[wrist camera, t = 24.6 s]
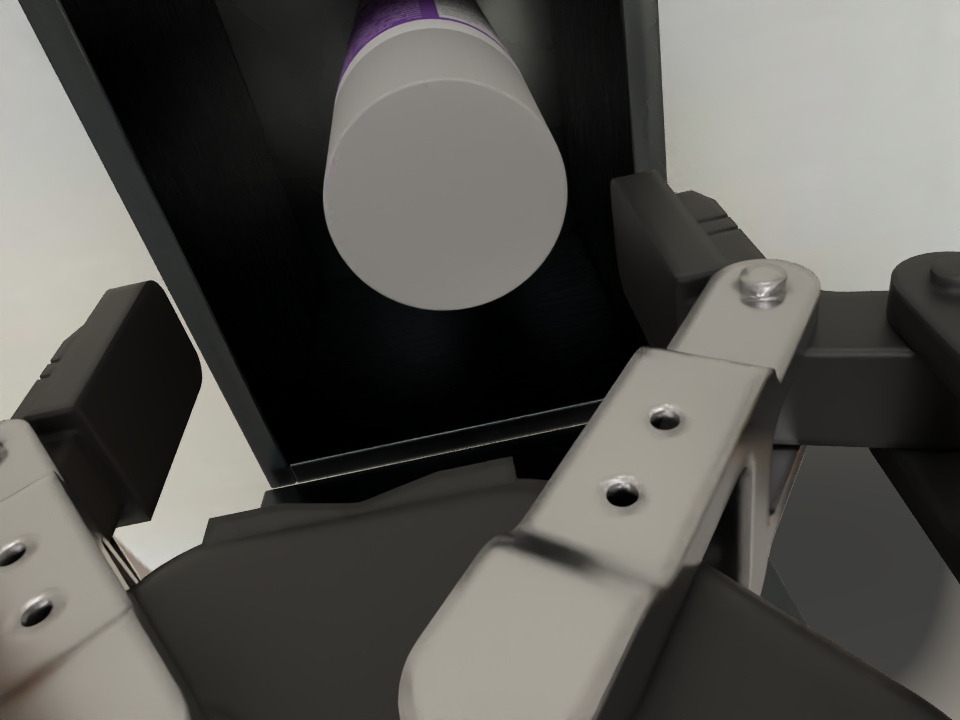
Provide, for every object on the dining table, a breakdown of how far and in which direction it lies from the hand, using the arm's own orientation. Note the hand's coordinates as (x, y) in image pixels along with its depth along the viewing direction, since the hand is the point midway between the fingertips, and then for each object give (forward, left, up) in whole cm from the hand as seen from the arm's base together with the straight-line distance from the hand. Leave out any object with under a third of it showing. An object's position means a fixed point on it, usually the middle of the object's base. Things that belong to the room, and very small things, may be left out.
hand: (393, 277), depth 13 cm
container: (0, +1, -16) cm, 16 cm away
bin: (+1, 0, -17) cm, 17 cm away
